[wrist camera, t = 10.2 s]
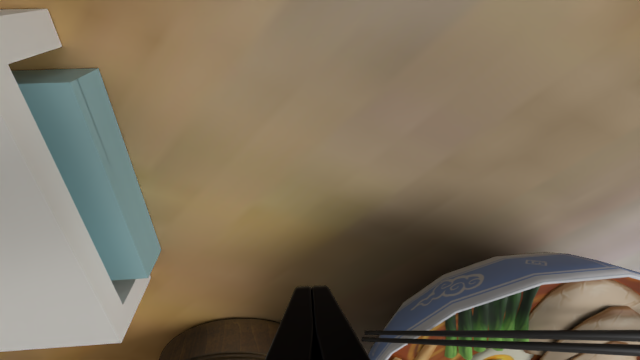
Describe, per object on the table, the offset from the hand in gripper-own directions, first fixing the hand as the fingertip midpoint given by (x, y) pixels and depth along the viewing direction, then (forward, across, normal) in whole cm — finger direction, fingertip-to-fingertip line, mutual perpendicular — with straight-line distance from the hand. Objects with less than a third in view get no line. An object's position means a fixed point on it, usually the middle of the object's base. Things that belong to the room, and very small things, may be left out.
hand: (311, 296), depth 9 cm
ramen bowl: (+12, -14, +17) cm, 25 cm away
